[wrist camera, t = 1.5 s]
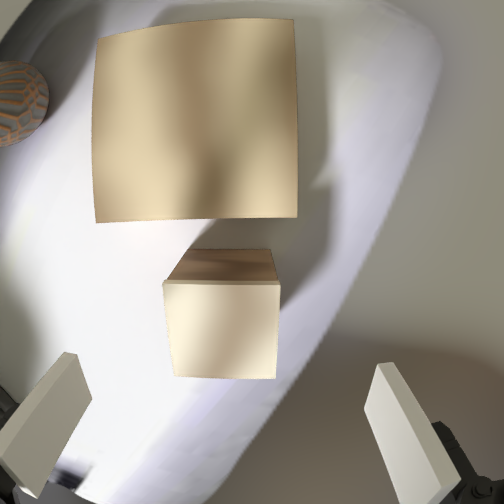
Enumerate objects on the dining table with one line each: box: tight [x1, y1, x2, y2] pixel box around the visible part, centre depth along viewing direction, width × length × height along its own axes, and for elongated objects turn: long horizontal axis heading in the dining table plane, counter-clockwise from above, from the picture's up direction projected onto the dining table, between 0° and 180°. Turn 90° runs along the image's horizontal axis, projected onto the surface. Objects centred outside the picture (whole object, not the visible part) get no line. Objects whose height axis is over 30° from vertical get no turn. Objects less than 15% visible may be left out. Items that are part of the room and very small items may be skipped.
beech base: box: [92, 18, 298, 223], centre depth 18 cm, size 12×12×5 cm
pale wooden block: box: [162, 249, 281, 379], centre depth 20 cm, size 6×6×7 cm
